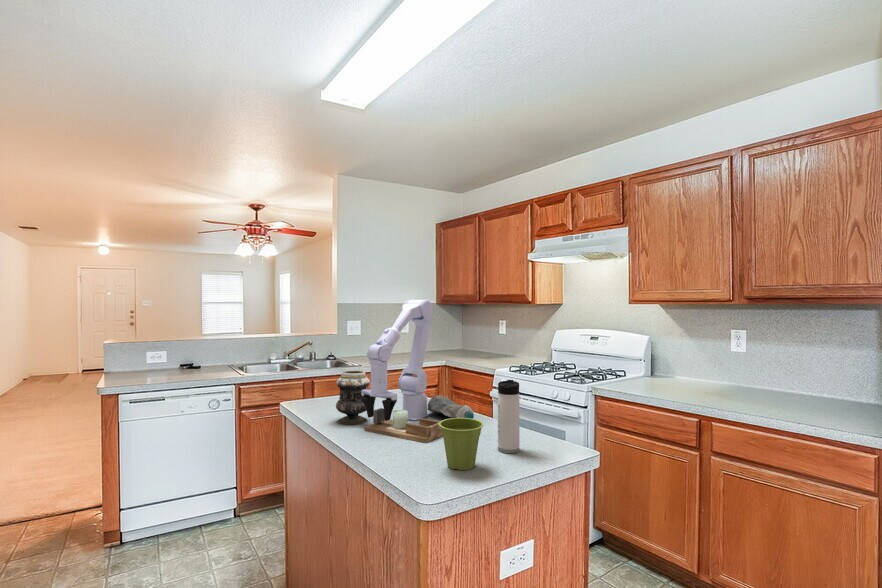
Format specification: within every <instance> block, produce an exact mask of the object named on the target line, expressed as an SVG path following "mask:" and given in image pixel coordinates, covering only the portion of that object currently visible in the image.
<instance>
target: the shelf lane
mask: <svg viewBox="0 0 882 588" xmlns="http://www.w3.org/2000/svg"><path fill="white" fill-rule="evenodd" d="M418 420H419V423H418V424H416V423H410V422H408V423H407V424H406V428H404V429H396V428H393V425H391V424H385V423H379V424H373V423H372V424H369V425H367V426H364V431H365V432H369V433H374V434H378V435H379V434H380V435H383V436H388V437H395V438H399V439H404V440H409V441H413V442H418V443H424V444H427V443H430V442H431V441H433V440H435V439H438V438H441V437H443V435H442V431H441V427H440V426H439V422H440V421H441V420H434V419H428V418H424V417H423V418H420V419H418ZM386 422H392V423H393V419H390V420H388V421H386Z"/></svg>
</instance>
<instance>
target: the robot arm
mask: <svg viewBox="0 0 882 588" xmlns="http://www.w3.org/2000/svg"><path fill="white" fill-rule="evenodd" d="M401 308H402V311H401V312H400V313H399V315H398V317H397V319H395V321H394V323H393V324H392V326H391V327H387V328H385V329H384V330H383V333H382V335H380V337H379V338H378V339H377V341H376V342H375V343H374V344H371V345H370V346H369V348H368V350H367V352H366V356H367V358H368V359H369V365H370V389H367V388H366V389H364V390H361V395H362V396H364V397H362V398H361V400H362V402H363V403H364V405H365V408H366V411H365V412H366V415H367V418H373V410H375V402H376V398H379V399H383V400H381V403H382V406H383V409H384V418H385V421H388V420H391V418H392V415H393V411H394V408H395V406H396V404H397V402H398V393H395V392H391V391H389V390H388V361H389V360H390V359H391V356H392V352H393V349H394V347H395V346H396V344H397V343H398V341H399V340H400V338H401V334H400V333H401V332H402V330H403V329H405V327H407V325H408V324H409V322H410V321H412V322H413V323H414V325H415V328H414V329H415V330H414V334H413V339H412V345H411V349H410V355H409V360H408V364H407V366H406V367H404V369H402V371H401V375H400V377H399V378H398V382H397V384H398V385H397V386H398V388H399V390H400V391H401V394H402V410H406V411H408V421H409V420H410V421H417V420H419V419H420V418H423V419H424V418H425V417H428V416H430V413H428V410H427V409H428V397H427V394H426V393H425V391H426V390H427V386H428V381H427V377H428V374H427V373H426V371H425V370H424V369H423V367H424V366H423V365H424V362H425V356H426V352H427V351H426V349H427V345H428V340H429V335H430V329H431V323H432V318H433V317H432V316H433V312H434V306H433V304H432V302H431V301H430V300H429V299H425V298H424V299H407V300H405V302H404V303H403V305H401Z"/></svg>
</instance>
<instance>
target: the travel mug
mask: <svg viewBox="0 0 882 588" xmlns="http://www.w3.org/2000/svg"><path fill="white" fill-rule="evenodd" d="M497 389H498V390H497V450H498V452H499V453H500V452H501V453H503V454H517V453H519V451H520V383H519V382H518V381H516V380H514V379H507V380H502V381H499V382H498V383H497Z"/></svg>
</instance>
